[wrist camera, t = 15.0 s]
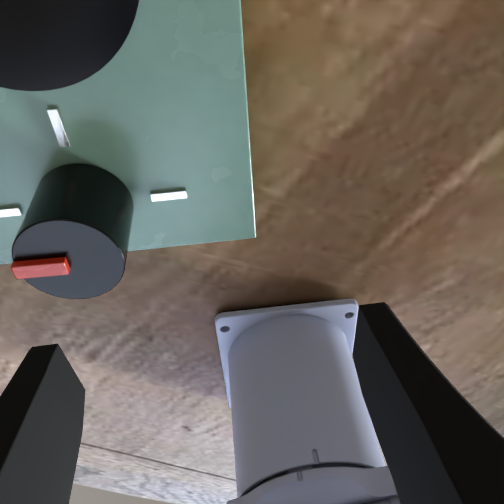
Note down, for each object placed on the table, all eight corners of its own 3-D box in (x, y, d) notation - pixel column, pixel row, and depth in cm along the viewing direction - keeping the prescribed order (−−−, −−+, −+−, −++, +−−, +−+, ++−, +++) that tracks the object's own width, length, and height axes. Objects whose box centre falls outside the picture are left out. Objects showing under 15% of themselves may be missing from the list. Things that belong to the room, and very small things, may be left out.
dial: (123, 158, 17) (110, 220, 14) (141, 235, 20) (133, 300, 17) (22, 166, 17) (-11, 230, 14) (53, 242, 19) (30, 310, 17)
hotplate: (253, 230, 23) (258, 261, 21) (-22, 259, 22) (-39, 293, 21) (218, -268, 12) (222, -284, 10) (-316, -231, 12) (-398, -242, 10)
